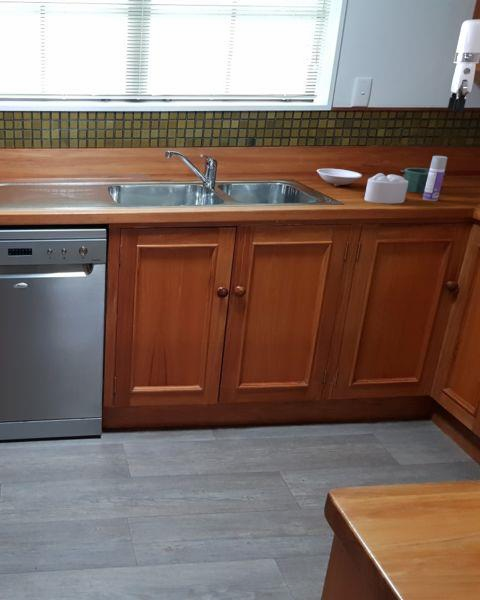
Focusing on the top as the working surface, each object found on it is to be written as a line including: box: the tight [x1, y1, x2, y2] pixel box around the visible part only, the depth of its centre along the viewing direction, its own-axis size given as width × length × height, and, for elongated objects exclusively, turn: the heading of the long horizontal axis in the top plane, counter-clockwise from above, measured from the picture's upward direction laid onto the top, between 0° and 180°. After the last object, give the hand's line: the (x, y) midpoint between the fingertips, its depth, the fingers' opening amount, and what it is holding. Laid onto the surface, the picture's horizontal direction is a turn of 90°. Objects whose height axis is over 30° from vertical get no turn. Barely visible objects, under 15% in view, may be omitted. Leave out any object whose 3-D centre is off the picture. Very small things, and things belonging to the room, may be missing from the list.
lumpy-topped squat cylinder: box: [363, 172, 408, 204], centre depth 213 cm, size 10×13×9 cm
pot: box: [399, 167, 446, 194], centre depth 229 cm, size 15×12×7 cm
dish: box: [316, 168, 363, 187], centre depth 235 cm, size 18×14×5 cm
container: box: [422, 155, 448, 202], centre depth 213 cm, size 5×5×15 cm
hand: (455, 110), depth 217 cm, fingers open, 9 cm apart
